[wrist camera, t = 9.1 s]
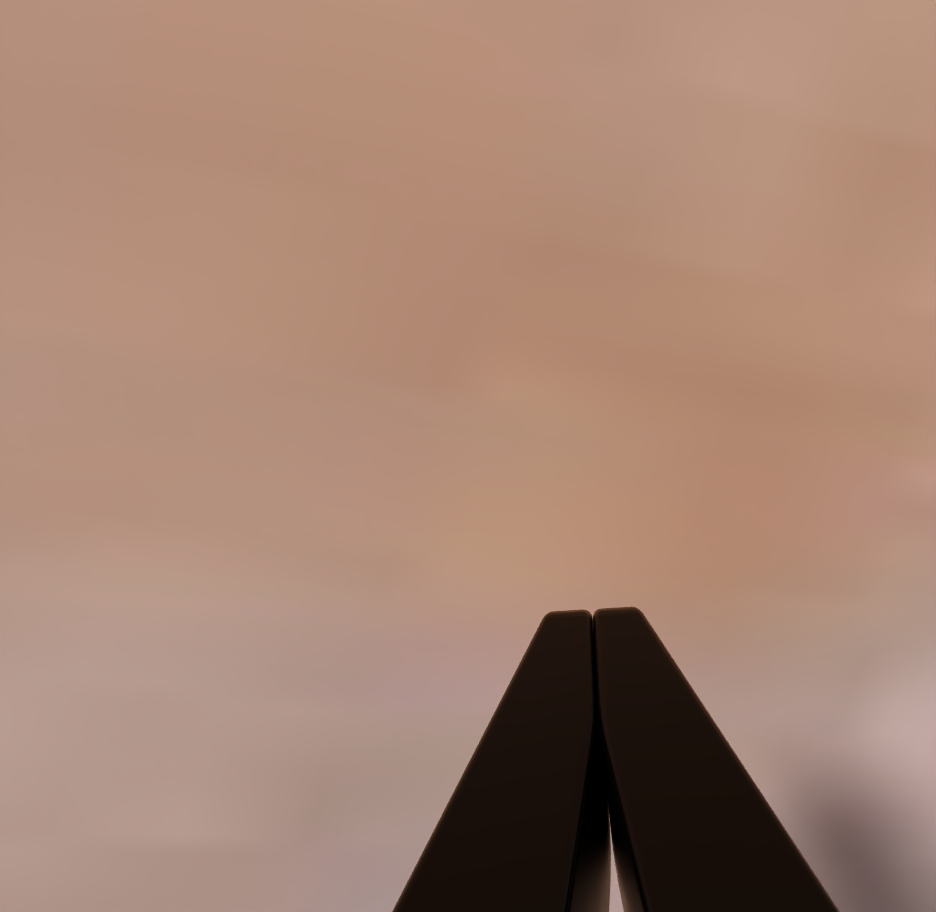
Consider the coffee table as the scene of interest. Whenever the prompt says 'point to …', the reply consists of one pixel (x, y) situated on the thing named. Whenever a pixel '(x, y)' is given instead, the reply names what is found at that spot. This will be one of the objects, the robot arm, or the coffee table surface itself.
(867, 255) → the coffee table surface
